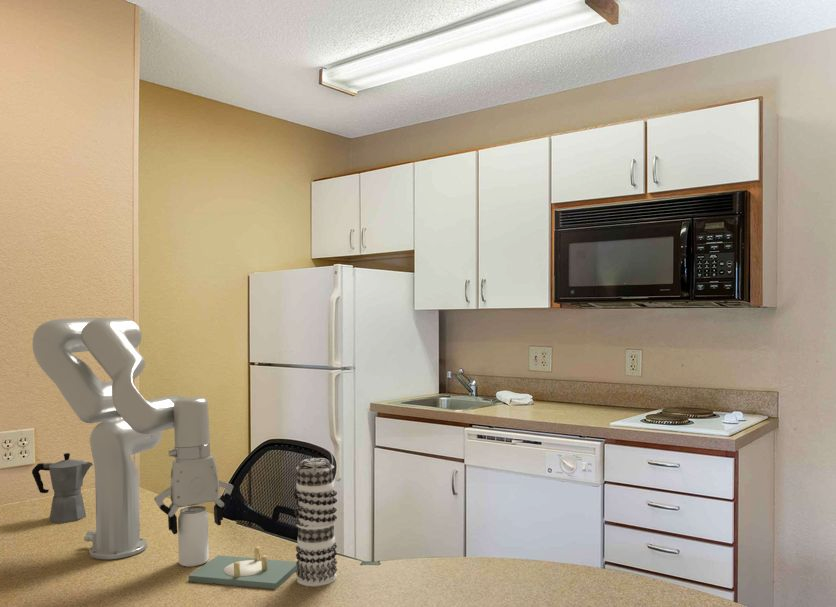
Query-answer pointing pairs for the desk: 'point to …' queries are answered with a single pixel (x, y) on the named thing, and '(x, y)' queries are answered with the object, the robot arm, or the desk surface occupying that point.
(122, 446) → the robot arm
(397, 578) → the desk surface
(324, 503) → the decorative candle
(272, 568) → the green board with pegs
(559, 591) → the desk surface
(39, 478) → the coffeepot
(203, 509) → the can
